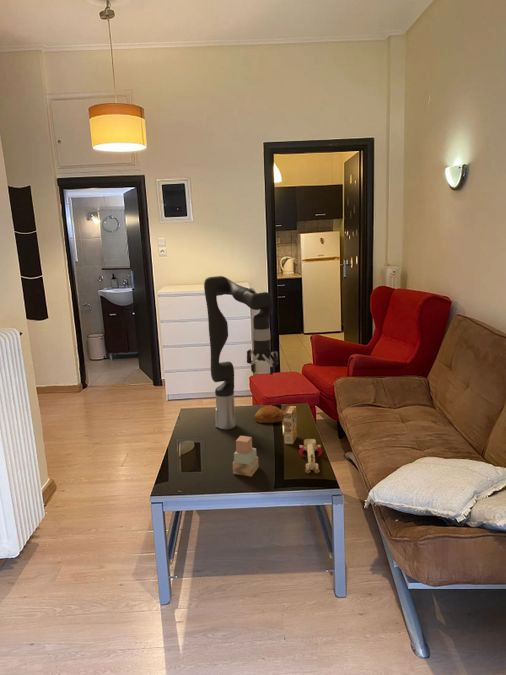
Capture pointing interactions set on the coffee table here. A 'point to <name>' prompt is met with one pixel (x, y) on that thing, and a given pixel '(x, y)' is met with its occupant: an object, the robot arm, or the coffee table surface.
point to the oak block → (245, 468)
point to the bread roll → (269, 414)
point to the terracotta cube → (244, 444)
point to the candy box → (290, 425)
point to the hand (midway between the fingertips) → (262, 373)
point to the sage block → (245, 457)
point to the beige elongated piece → (310, 454)
